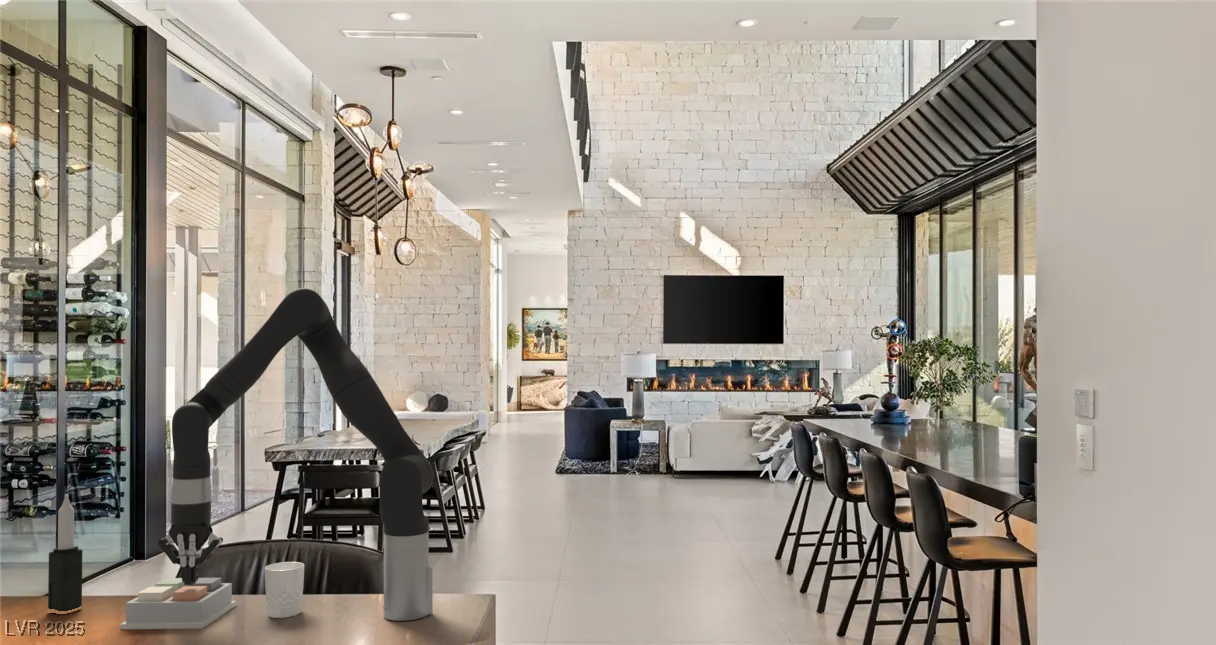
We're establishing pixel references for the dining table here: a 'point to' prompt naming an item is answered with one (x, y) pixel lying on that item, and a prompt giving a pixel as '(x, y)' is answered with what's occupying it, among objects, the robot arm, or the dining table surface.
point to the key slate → (209, 583)
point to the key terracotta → (190, 593)
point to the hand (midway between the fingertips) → (189, 584)
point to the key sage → (171, 583)
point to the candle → (65, 564)
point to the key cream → (155, 594)
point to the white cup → (284, 589)
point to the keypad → (179, 611)
